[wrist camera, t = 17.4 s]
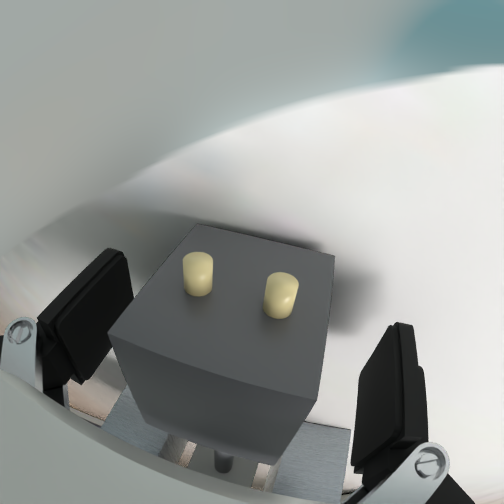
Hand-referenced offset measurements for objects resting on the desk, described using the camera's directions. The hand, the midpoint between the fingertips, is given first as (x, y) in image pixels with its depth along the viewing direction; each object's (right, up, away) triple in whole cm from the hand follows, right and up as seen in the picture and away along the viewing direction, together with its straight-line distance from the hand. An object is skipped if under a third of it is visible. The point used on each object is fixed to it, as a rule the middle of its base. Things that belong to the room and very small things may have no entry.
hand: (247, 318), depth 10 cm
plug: (-1, -6, +5) cm, 8 cm away
